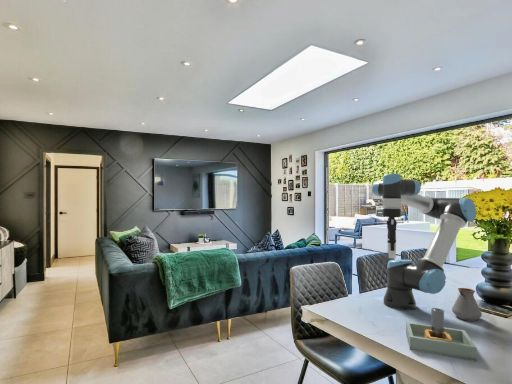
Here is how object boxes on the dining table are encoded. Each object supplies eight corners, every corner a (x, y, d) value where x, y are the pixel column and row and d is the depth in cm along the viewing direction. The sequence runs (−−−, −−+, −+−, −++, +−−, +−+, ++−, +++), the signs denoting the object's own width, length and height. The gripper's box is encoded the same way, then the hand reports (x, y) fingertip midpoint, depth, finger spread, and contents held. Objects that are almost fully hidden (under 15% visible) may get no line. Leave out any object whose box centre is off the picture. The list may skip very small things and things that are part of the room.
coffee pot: (454, 311, 150) (454, 280, 151) (483, 317, 143) (483, 285, 143) (445, 323, 134) (445, 289, 135) (477, 331, 127) (477, 294, 127)
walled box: (406, 333, 124) (406, 321, 124) (464, 342, 116) (464, 330, 117) (409, 349, 110) (409, 336, 110) (476, 361, 102) (476, 347, 103)
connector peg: (430, 339, 116) (430, 307, 116) (442, 341, 114) (442, 309, 115) (432, 344, 112) (432, 310, 113) (445, 346, 111) (445, 312, 111)
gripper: (382, 207, 151) (381, 251, 151) (383, 208, 128) (383, 259, 127) (398, 208, 149) (398, 252, 148) (403, 208, 125) (403, 261, 125)
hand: (391, 255), depth 138 cm, fingers open, 13 cm apart
